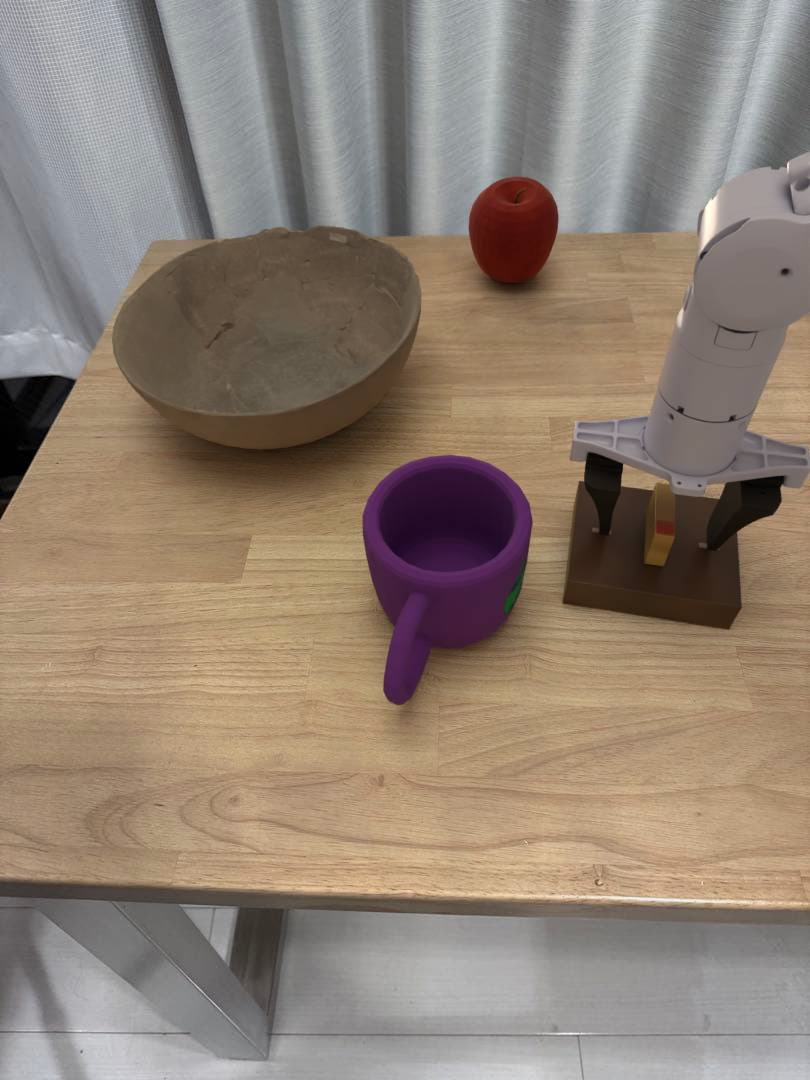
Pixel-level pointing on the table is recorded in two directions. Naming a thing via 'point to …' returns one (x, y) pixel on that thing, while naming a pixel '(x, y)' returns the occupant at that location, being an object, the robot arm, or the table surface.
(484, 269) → the apple
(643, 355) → the table surface
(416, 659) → the mug
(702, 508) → the lock plate
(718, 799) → the table surface
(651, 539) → the block with red patch
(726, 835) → the table surface
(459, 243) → the table surface
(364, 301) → the bowl
